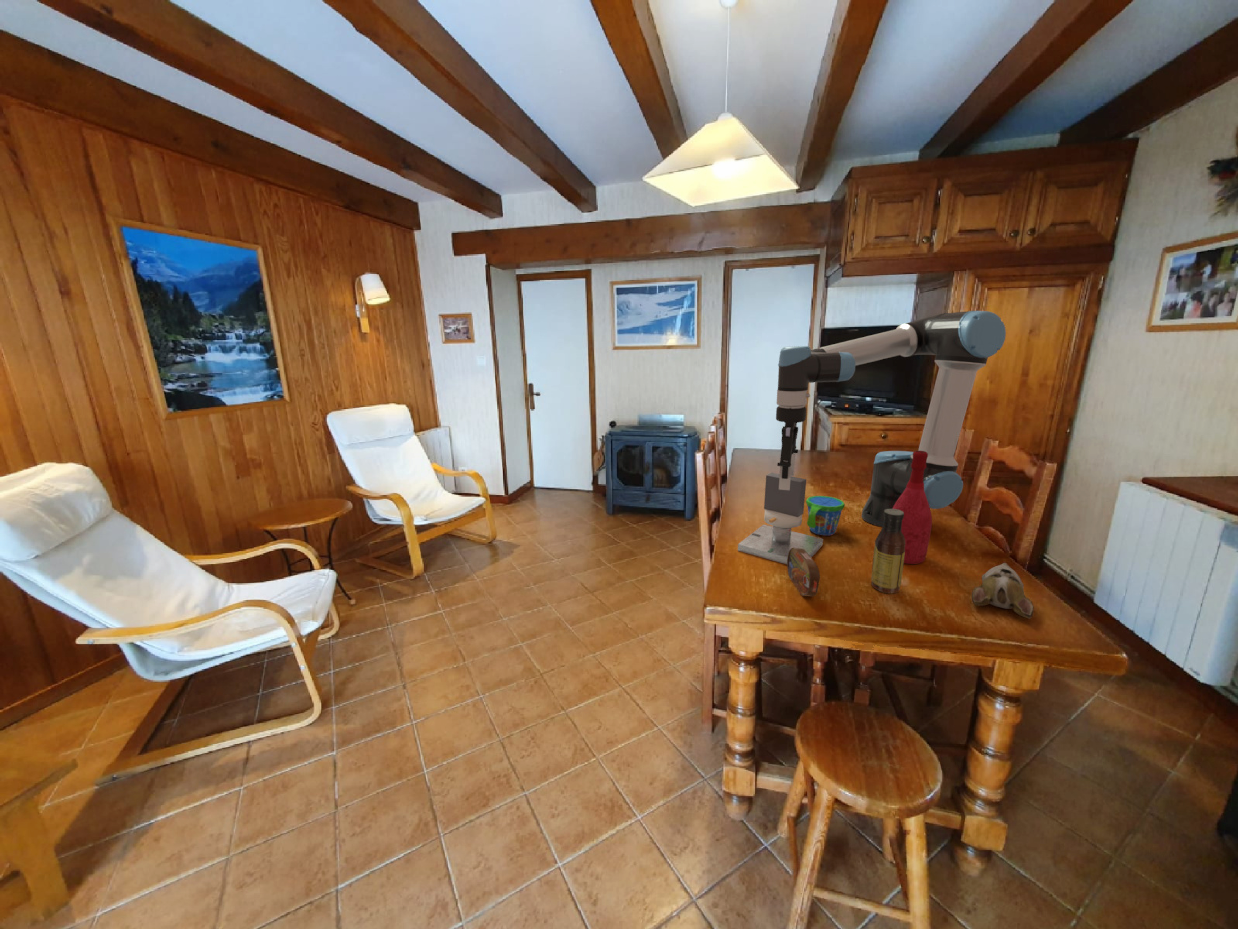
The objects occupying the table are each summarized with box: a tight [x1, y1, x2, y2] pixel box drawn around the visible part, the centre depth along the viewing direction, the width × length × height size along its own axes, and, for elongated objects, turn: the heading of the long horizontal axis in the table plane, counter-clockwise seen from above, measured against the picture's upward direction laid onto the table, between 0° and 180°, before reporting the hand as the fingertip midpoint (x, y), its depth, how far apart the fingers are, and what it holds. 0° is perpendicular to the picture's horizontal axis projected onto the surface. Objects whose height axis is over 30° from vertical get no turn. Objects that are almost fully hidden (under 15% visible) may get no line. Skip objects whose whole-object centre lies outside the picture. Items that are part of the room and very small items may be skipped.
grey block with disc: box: [763, 472, 807, 529], centre depth 130 cm, size 12×10×13 cm
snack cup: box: [805, 495, 846, 537], centre depth 144 cm, size 16×10×10 cm
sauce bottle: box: [870, 509, 905, 594], centre depth 110 cm, size 7×6×20 cm
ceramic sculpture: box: [971, 562, 1035, 620], centre depth 104 cm, size 11×9×15 cm
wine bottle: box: [892, 450, 933, 565], centre depth 123 cm, size 10×10×30 cm
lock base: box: [737, 524, 824, 565], centre depth 134 cm, size 18×18×8 cm
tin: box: [786, 548, 821, 597], centre depth 113 cm, size 15×3×8 cm, turn 178°
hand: (786, 482), depth 129 cm, fingers open, 13 cm apart
